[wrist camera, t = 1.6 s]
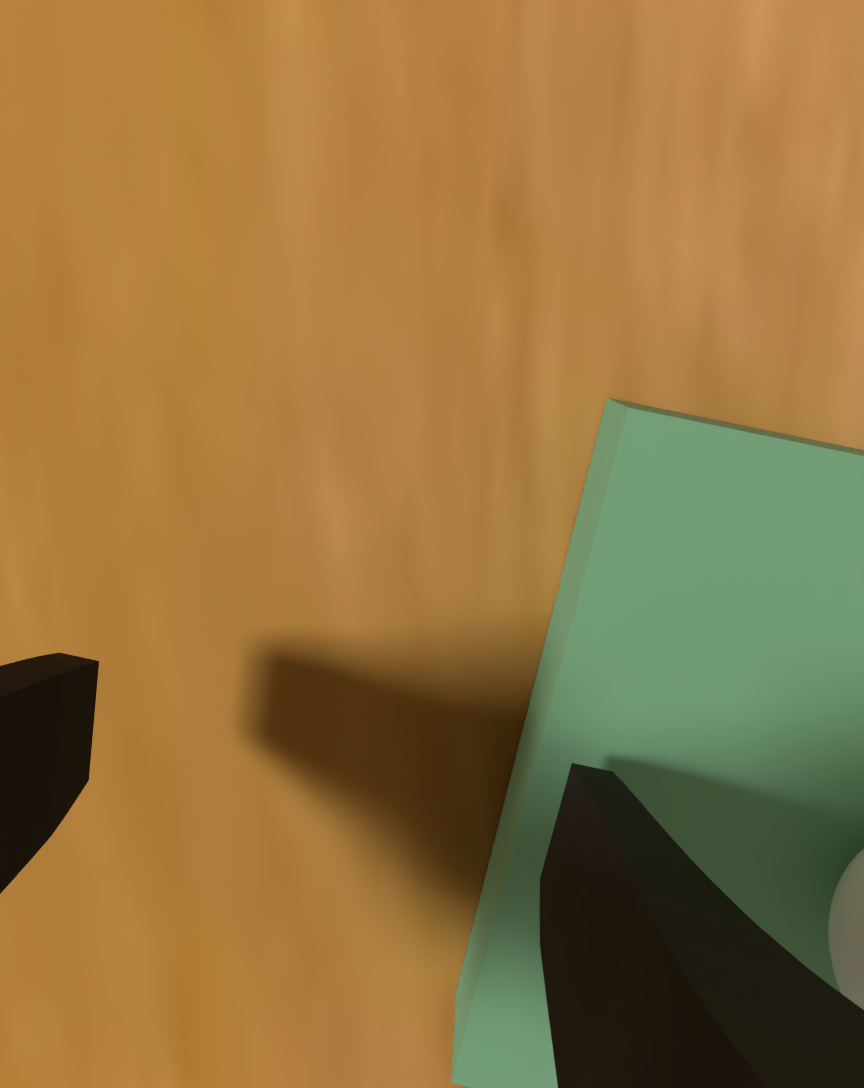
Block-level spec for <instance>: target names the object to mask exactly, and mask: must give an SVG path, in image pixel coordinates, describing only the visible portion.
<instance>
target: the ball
mask: <svg viewBox="0 0 864 1088" xmlns="http://www.w3.org/2000/svg"><path fill="white" fill-rule="evenodd" d="M828 939H829V950H830V956H831V962H832V966H833V970H834V974H835V977H836V980H837V983H838V986H839V989H840V991H841V994H843V995H844V996H845V997H847V998H848V999H849V1000H851V1001H852V1002H854V1003H855V1004H856V1005H858V1006H859V1007H860V1008H862V1009H863V1010H864V849H863V850H862V851H860V852H859V853H858V854H857V855H856V857H855V858H854V859H853V860H852V861H851V862H850V864H849V865H848V867H847V868H846V870H845V871H844V873H843V875H842V877H841V879H840V881H839V883H838V885H837V887H836V890H835V893H834V896H833V899H832V902H831V908H830V915H829V923H828Z"/></svg>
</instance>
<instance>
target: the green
mask: <svg viewBox="0 0 864 1088" xmlns="http://www.w3.org/2000/svg"><path fill="white" fill-rule="evenodd" d="M572 763H575V764H580V765H584V766H589V767H594V768H598V769H603V770H608V771H612V772H614V773H615V774H616V775H617V776H618V777H619V778H620V779H621V780H622V782H623V783H624V784H625V785H626V786H627V787H628V788H629V789H630V790H631V792H632V793H633V794H634V795H635V796H636V797H637V799H638V800H639V801H640V802H641V803H642V804H643V805H644V807H645V808H646V809H647V810H648V811H649V812H650V814H651V815H652V816H653V817H654V818H655V819H656V821H657V822H658V823H659V824H660V825H661V826H662V827H663V829H664V830H665V831H666V832H667V833H668V834H669V835H670V836H671V838H672V839H673V840H674V841H675V842H676V843H677V844H678V845H679V846H680V848H681V849H682V850H683V851H684V852H685V853H686V854H687V855H688V856H689V857H690V858H691V860H692V861H693V862H694V863H695V864H696V865H697V866H698V867H699V868H700V869H701V870H702V871H703V872H704V873H705V874H706V875H707V876H708V877H709V879H710V880H712V881H713V882H714V883H715V884H716V885H717V886H718V887H719V888H720V889H721V890H722V891H723V892H724V893H725V894H726V895H727V896H728V897H729V898H730V899H731V900H732V901H733V902H734V903H735V904H736V905H737V906H738V907H739V908H740V909H741V910H742V911H743V912H744V913H745V914H746V915H747V916H748V917H749V918H751V919H752V920H753V921H754V922H755V923H756V924H757V925H758V926H759V927H760V928H761V929H763V930H764V931H765V932H766V933H767V934H769V935H770V936H771V937H772V938H773V939H774V940H776V941H777V942H778V943H779V944H780V945H781V946H783V947H784V948H785V949H786V950H787V951H788V952H790V953H791V954H792V955H793V956H794V957H795V958H797V959H798V960H799V961H800V962H801V963H803V964H804V965H805V966H806V967H807V968H809V969H810V970H811V971H813V972H814V973H815V974H816V975H818V976H819V977H820V978H821V979H823V980H824V981H825V982H827V983H828V984H829V985H830V986H832V987H833V988H834V989H836V990H837V991H839V992H840V993H841V991H840V989H839V986H838V983H837V980H836V977H835V974H834V970H833V966H832V962H831V956H830V950H829V939H828V923H829V915H830V908H831V902H832V899H833V896H834V893H835V890H836V887H837V885H838V883H839V881H840V879H841V877H842V875H843V873H844V871H845V870H846V868H847V867H848V865H849V864H850V862H851V861H852V860H853V859H854V858H855V857H856V855H857V854H858V853H859V852H860V851H862V850H863V849H864V450H859V449H854V448H849V447H844V446H839V445H834V444H830V443H825V442H820V441H815V440H810V439H805V438H800V437H795V436H791V435H786V434H781V433H776V432H771V431H766V430H761V429H757V428H752V427H747V426H742V425H737V424H732V423H727V422H722V421H718V420H713V419H708V418H703V417H698V416H693V415H688V414H684V413H679V412H674V411H669V410H664V409H659V408H654V407H649V406H645V405H640V404H635V403H630V402H625V401H620V400H615V399H610V398H607V399H606V403H605V407H604V411H603V415H602V419H601V423H600V427H599V431H598V435H597V439H596V443H595V447H594V451H593V455H592V459H591V462H590V466H589V470H588V474H587V478H586V482H585V486H584V490H583V494H582V498H581V502H580V506H579V510H578V514H577V518H576V522H575V525H574V529H573V533H572V537H571V541H570V545H569V549H568V553H567V557H566V561H565V565H564V569H563V573H562V577H561V581H560V585H559V588H558V592H557V596H556V600H555V604H554V608H553V612H552V616H551V620H550V624H549V628H548V632H547V636H546V640H545V644H544V648H543V651H542V655H541V659H540V663H539V667H538V671H537V675H536V679H535V683H534V687H533V691H532V695H531V699H530V703H529V707H528V711H527V715H526V718H525V722H524V726H523V730H522V734H521V738H520V742H519V746H518V750H517V754H516V758H515V762H514V766H513V770H512V774H511V778H510V781H509V785H508V789H507V793H506V797H505V801H504V805H503V809H502V813H501V817H500V821H499V825H498V829H497V833H496V837H495V841H494V844H493V848H492V852H491V856H490V860H489V864H488V868H487V872H486V876H485V880H484V884H483V888H482V892H481V896H480V900H479V904H478V907H477V911H476V915H475V919H474V923H473V927H472V931H471V935H470V939H469V943H468V947H467V951H466V955H465V959H464V963H463V967H462V971H461V974H460V978H459V982H458V986H457V990H456V1006H455V1024H454V1042H453V1061H452V1079H451V1083H453V1084H457V1085H462V1086H466V1087H470V1088H558V1084H557V1077H556V1069H555V1061H554V1053H553V1046H552V1038H551V1030H550V1022H549V1015H548V1007H547V999H546V991H545V983H544V975H543V967H542V958H541V949H540V877H541V873H542V870H543V866H544V862H545V859H546V855H547V851H548V848H549V844H550V840H551V837H552V833H553V830H554V826H555V822H556V819H557V815H558V811H559V808H560V804H561V800H562V797H563V793H564V789H565V786H566V782H567V778H568V775H569V771H570V767H571V764H572Z"/></svg>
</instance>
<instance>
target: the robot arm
mask: <svg viewBox="0 0 864 1088" xmlns="http://www.w3.org/2000/svg"><path fill="white" fill-rule="evenodd" d="M98 666H99V661H96V660H91V659H86V658H82V657H77V656H72V655H68V654H63V653H55V654H49V655H43V656H38V657H34V658H30V659H26V660H22V661H18V662H14V663H10V664H6V665H3V666H0V893H1V892H2V891H3V890H4V889H5V888H6V887H7V886H8V885H9V883H10V882H11V881H12V880H13V879H14V878H15V877H16V876H17V874H18V873H19V872H20V871H21V870H22V869H23V868H24V866H25V865H26V864H27V863H28V862H29V861H30V860H31V859H32V857H33V856H34V855H35V854H36V853H37V852H38V851H39V849H40V848H41V847H42V846H43V845H44V844H45V842H46V841H47V840H48V839H49V838H50V837H51V835H52V834H53V833H54V831H55V830H56V828H57V827H58V825H59V824H60V823H61V821H62V820H63V818H64V817H65V815H66V814H67V813H68V811H69V810H70V808H71V807H72V805H73V803H74V802H75V800H76V799H77V797H78V796H79V794H80V793H81V791H82V790H83V788H84V787H85V785H86V784H87V782H88V780H89V770H90V758H91V747H92V735H93V724H94V712H95V701H96V689H97V678H98ZM540 949H541V958H542V967H543V975H544V983H545V991H546V999H547V1007H548V1015H549V1022H550V1030H551V1038H552V1046H553V1053H554V1061H555V1069H556V1077H557V1084H558V1088H864V1010H863V1009H862V1008H860V1007H859V1006H858V1005H856V1004H855V1003H854V1002H852V1001H851V1000H849V999H848V998H847V997H845V996H844V995H843V994H841V993H840V992H839V991H837V990H836V989H834V988H833V987H832V986H830V985H829V984H828V983H827V982H825V981H824V980H823V979H821V978H820V977H819V976H818V975H816V974H815V973H814V972H813V971H811V970H810V969H809V968H807V967H806V966H805V965H804V964H803V963H801V962H800V961H799V960H798V959H797V958H795V957H794V956H793V955H792V954H791V953H790V952H788V951H787V950H786V949H785V948H784V947H783V946H781V945H780V944H779V943H778V942H777V941H776V940H774V939H773V938H772V937H771V936H770V935H769V934H767V933H766V932H765V931H764V930H763V929H761V928H760V927H759V926H758V925H757V924H756V923H755V922H754V921H753V920H752V919H751V918H749V917H748V916H747V915H746V914H745V913H744V912H743V911H742V910H741V909H740V908H739V907H738V906H737V905H736V904H735V903H734V902H733V901H732V900H731V899H730V898H729V897H728V896H727V895H726V894H725V893H724V892H723V891H722V890H721V889H720V888H719V887H718V886H717V885H716V884H715V883H714V882H713V881H712V880H710V879H709V877H708V876H707V875H706V874H705V873H704V872H703V871H702V870H701V869H700V868H699V867H698V866H697V865H696V864H695V863H694V862H693V861H692V860H691V858H690V857H689V856H688V855H687V854H686V853H685V852H684V851H683V850H682V849H681V848H680V846H679V845H678V844H677V843H676V842H675V841H674V840H673V839H672V838H671V836H670V835H669V834H668V833H667V832H666V831H665V830H664V829H663V827H662V826H661V825H660V824H659V823H658V822H657V821H656V819H655V818H654V817H653V816H652V815H651V814H650V812H649V811H648V810H647V809H646V808H645V807H644V805H643V804H642V803H641V802H640V801H639V800H638V799H637V797H636V796H635V795H634V794H633V793H632V792H631V790H630V789H629V788H628V787H627V786H626V785H625V784H624V783H623V782H622V780H621V779H620V778H619V777H618V776H617V775H616V774H615V773H614V772H612V771H608V770H603V769H598V768H594V767H589V766H584V765H580V764H575V763H572V764H571V767H570V771H569V775H568V778H567V782H566V786H565V789H564V793H563V797H562V800H561V804H560V808H559V811H558V815H557V819H556V822H555V826H554V830H553V833H552V837H551V840H550V844H549V848H548V851H547V855H546V859H545V862H544V866H543V870H542V873H541V877H540Z"/></svg>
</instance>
